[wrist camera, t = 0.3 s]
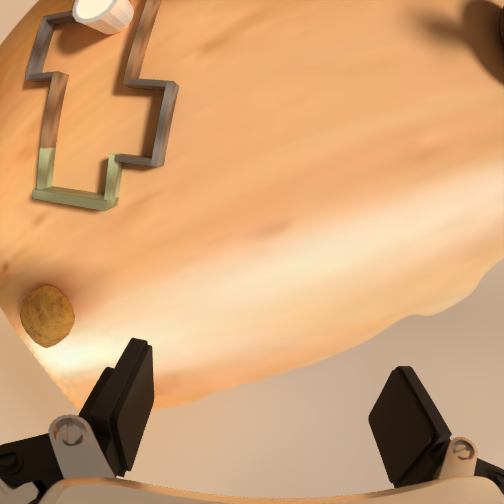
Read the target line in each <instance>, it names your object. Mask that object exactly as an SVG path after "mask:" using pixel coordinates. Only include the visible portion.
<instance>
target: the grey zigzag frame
mask: <svg viewBox="0 0 504 504" xmlns="http://www.w3.org/2000/svg"><path fill="white" fill-rule="evenodd" d="M160 3H161V0H147V1H146V4H145V7H144V10H143V13H142V16H141V19H140V22H139V25H138V28H137V31H136V35H135V38H134V41H133V45H132V48H131V52H130V56H129V59H128V63H127V67H126V71H125V75H124V79H123V85H125V86H127V87H129V88H135V89H151V90H164V91H165V92H164V97H163V101H162V106H161V111H160V116H159V121H158V126H157V131H156V137H155V142H154V148H153V154H152V158H150V157H143V156H135V155H127V154H109V161H108V169H107V177H106V186H105V194H99V193H93V192H86V191H80V190H73V189H67V188H60V187H53V186H52V179H53V167H54V157H55V149H56V141H57V134H58V127H59V121H60V115H61V109H62V104H63V99H64V94H65V89H66V85H67V80H68V76H69V75H67V74H64V73H61V72H58V71H57V72H46V73H42V70H43V66H44V62H45V58H46V55H47V51H48V48H49V44H50V41H51V38H52V35H53V32H54V29H55V26H56V25H60V24H66V23H72V22H78V21H76V20H75V18H74V17H73V11H68V12H63V13H57V14H53V15H48V16H44V17H43V19H42V22H41V25H40V28H39V31H38V34H37V37H36V40H35V43H34V47H33V50H32V54H31V57H30V61H29V65H28V69H27V73H26V77H25V80H28V81H33V82H44V81H51V86H50V90H49V95H48V100H47V105H46V111H45V117H44V123H43V129H42V137H41V144H40V153H39V163H38V176H37V189H34V190H33V193H32V198H33V199H39V200H45V201H51V202H57V203H62V204H68V205H74V206H80V207H85V208H91V209H97V210H102V211H107V210H109V209H111V208H113V207H115V206H117V205H118V199H119V190H120V181H121V173H122V166H123V162H125V163H132V164H140V165H147V166H154V167H159V166H164V160H165V154H166V149H167V143H168V137H169V132H170V127H171V122H172V117H173V112H174V107H175V102H176V98H177V93H178V89H179V86H178V85H177V84H176V83H175V82H174V81H164V80H150V79H139V75H140V71H141V67H142V63H143V59H144V56H145V52H146V48H147V45H148V41H149V38H150V34H151V31H152V28H153V25H154V21H155V18H156V15H157V12H158V9H159V6H160Z"/></svg>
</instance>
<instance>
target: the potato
mask: <svg viewBox="0 0 504 504" xmlns="http://www.w3.org/2000/svg"><path fill="white" fill-rule="evenodd" d="M20 317H21V322H22V325H23V327H24V329H25V331H26V332H27V333H28V335H29V336H30V337H31V338H32V339H33V340H34V342H36V343H37V344H39V345H41V346H42V347H46V348H48V347H51V346H54V345H56V344H57V343H59V342H60V341H61V340H63V339H64V338H65V337H66V336H67V335H68V334H69V332H70V331H71V329H72V326H73V324H74V319H75V315H74V311H73V307H72V305H71V303H70V302H69V300H68V299H67V297H66V296H65V295H64V294H63V293H62V292H61V291H60V290H59V289H57V288H55V287H53V286H49V285H44V286H42V287H39V288H38V289H36V290H35V291H33V292H31V293H30V294H29V295H28V296H27V297H26V298H25V300H24V301H23V305H22V310H21V315H20Z"/></svg>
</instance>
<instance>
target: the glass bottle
mask: <svg viewBox="0 0 504 504" xmlns="http://www.w3.org/2000/svg"><path fill="white" fill-rule="evenodd" d="M500 34H501V38H502V41H503V44H504V6H503V9H502V11H501V15H500Z"/></svg>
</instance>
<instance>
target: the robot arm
mask: <svg viewBox="0 0 504 504" xmlns="http://www.w3.org/2000/svg"><path fill="white" fill-rule="evenodd" d="M153 402H154V382H153V357H152V346H151V345H148V343H147V341H146V340H141V339H136V338H131V340H130V342H129V343H128V345H127V347H126V348H125V350H124V352H123V354H122V356H121V357H120V359H119V361H118V363H117V364H116V366H115V368H111V367H106V368H105V370H104V371H103V373H102V374H101V376H100V378H99V380H98V381H97V383H96V385H95V386H94V388H93V390H92V392H91V393H90V395H89V397H88V399H87V401H86V402H85V404H84V406H83V408H82V410H81V411H80V413H79V415H78V416H76V415H63V416H60V417H58V418H56V419H55V420H53V422H52V423H51V424H50V427H49V433H47V434H43V435H39V436H36V437H32V438H28V439H24V440H19V441H15V442H11V443H6V444H2V445H0V504H504V470H503V469H501V468H499V467H497V466H494V465H492V464H490V463H487V462H485V461H483V460H481V459H478V458H477V449H476V446H475V445H474V444H473V443H472V442H471V441H470V440H468V439H466V438H463V437H457V438H454V439H453V440H450V438H449V437H450V436H451V435H452V434H451V432H450V430H449V428H448V427H447V425H446V423H445V422H444V420H443V418H442V416H441V414H440V413H439V411H438V409H437V408H436V406H435V404H434V403H433V401H432V399H431V398H430V396H429V394H428V393H427V391H426V389H425V388H424V386H423V385H422V383H421V381H420V380H419V378H418V377H417V375H416V373H415V372H414V370H413V369H412V367H410V366H398V367H397V368H396V369H395V370H393V371H392V372H391V374H390V376H389V378H388V380H387V382H386V384H385V386H384V388H383V390H382V392H381V394H380V396H379V398H378V399H377V402H376V403H375V405H374V407H373V409H372V411H371V412H370V414H369V424H370V427H371V429H372V432H373V435H374V438H375V440H376V443H377V446H378V449H379V452H380V455H381V457H382V460H383V463H384V466H385V469H386V472H387V475H388V478H389V481H390V482H391V483H393V485H394V488H395V489H390V490H384V491H378V492H371V493H364V494H355V495H347V496H336V497H324V498H297V499H274V498H272V499H271V498H248V497H234V496H223V495H214V494H206V493H199V492H191V491H185V490H178V489H172V488H167V487H161V486H157V485H151V484H146V483H140V482H136V481H130V480H124V479H117V478H116V476H117V475H118V476H121V477H124V475H125V472H126V470H127V471H131V469H132V467H133V463H134V460H135V457H136V454H137V451H138V448H139V444H140V441H141V439H142V436H143V432H144V430H145V427H146V424H147V421H148V418H149V415H150V412H151V409H152V406H153Z"/></svg>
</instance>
